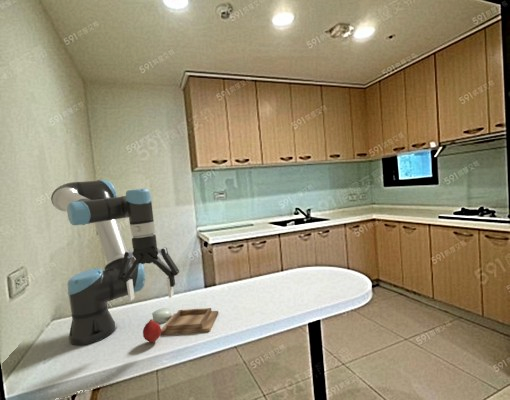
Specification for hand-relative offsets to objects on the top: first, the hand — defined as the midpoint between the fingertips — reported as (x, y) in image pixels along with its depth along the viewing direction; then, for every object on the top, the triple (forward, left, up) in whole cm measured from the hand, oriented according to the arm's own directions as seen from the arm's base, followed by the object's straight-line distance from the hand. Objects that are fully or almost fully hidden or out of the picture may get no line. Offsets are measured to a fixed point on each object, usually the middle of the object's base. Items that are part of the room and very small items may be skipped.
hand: (151, 297), depth 102 cm
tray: (+8, +11, -15) cm, 20 cm away
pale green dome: (-5, +16, -15) cm, 22 cm away
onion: (-1, -1, -15) cm, 15 cm away
